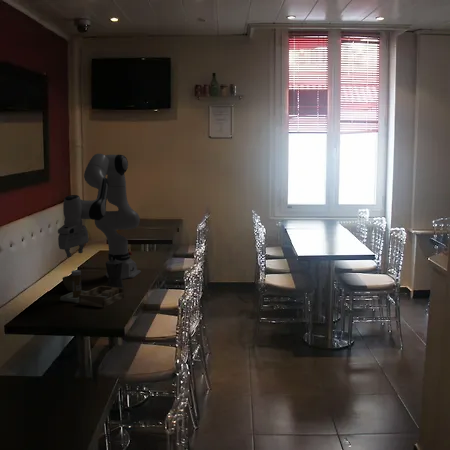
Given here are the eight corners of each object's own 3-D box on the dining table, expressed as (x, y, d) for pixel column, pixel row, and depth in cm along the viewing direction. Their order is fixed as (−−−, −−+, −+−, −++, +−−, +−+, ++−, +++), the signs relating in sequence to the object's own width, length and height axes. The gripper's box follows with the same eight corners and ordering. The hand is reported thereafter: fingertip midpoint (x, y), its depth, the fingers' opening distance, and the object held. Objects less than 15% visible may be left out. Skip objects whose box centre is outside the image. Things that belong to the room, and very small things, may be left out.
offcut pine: (106, 300, 279) (106, 290, 278) (112, 301, 278) (112, 290, 277) (102, 302, 276) (101, 292, 275) (108, 303, 274) (107, 292, 274)
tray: (77, 293, 292) (77, 289, 292) (93, 295, 289) (93, 291, 288) (60, 300, 279) (60, 297, 279) (77, 302, 276) (76, 299, 275)
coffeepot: (127, 291, 296) (125, 258, 293) (109, 293, 292) (108, 259, 290) (119, 284, 310) (118, 252, 307) (103, 286, 306) (101, 254, 303)
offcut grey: (101, 303, 275) (101, 295, 275) (107, 303, 274) (107, 296, 273) (96, 305, 271) (96, 297, 270) (102, 306, 270) (102, 298, 269)
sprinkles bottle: (80, 297, 282) (79, 271, 280) (71, 297, 282) (70, 272, 280) (82, 295, 286) (81, 269, 284) (73, 295, 286) (72, 269, 284)
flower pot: (74, 286, 306) (73, 274, 305) (86, 289, 300) (85, 276, 299) (59, 290, 298) (58, 277, 297) (71, 293, 292) (70, 280, 291)
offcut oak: (113, 297, 285) (112, 288, 284) (119, 298, 284) (118, 288, 283) (107, 300, 280) (107, 290, 280) (113, 300, 279) (113, 291, 278)
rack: (100, 294, 289) (100, 285, 289) (123, 297, 284) (123, 288, 284) (79, 304, 273) (79, 294, 272) (103, 307, 268) (103, 297, 267)
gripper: (80, 224, 289) (81, 250, 291) (55, 230, 270) (57, 258, 272) (90, 225, 287) (92, 251, 289) (66, 231, 268) (67, 259, 270)
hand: (74, 254), depth 280 cm, fingers open, 8 cm apart
